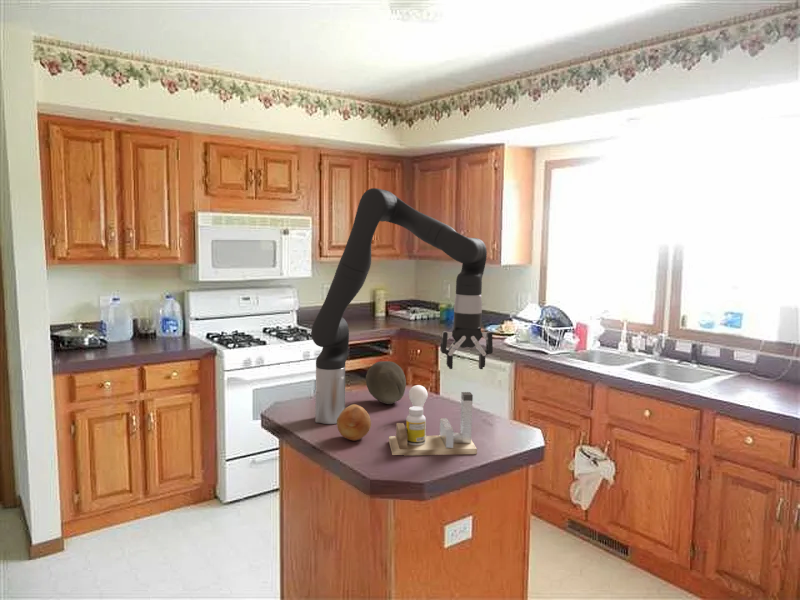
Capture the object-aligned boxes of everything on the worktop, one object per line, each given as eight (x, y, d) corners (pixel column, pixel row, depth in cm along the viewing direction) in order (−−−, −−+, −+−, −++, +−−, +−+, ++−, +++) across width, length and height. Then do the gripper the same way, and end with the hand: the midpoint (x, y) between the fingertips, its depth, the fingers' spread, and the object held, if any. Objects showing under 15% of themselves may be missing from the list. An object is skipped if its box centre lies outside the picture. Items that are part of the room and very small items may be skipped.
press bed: (392, 455, 154) (392, 435, 154) (388, 441, 165) (389, 422, 165) (476, 454, 157) (477, 434, 156) (468, 440, 168) (468, 421, 167)
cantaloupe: (404, 397, 211) (405, 357, 209) (406, 409, 197) (407, 366, 195) (365, 397, 210) (366, 357, 209) (365, 409, 196) (365, 365, 195)
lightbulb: (427, 416, 189) (428, 383, 188) (426, 422, 183) (427, 388, 182) (409, 415, 190) (409, 382, 189) (407, 421, 184) (408, 387, 183)
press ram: (445, 447, 156) (447, 398, 155) (439, 435, 166) (440, 389, 165) (474, 447, 157) (475, 398, 156) (466, 434, 167) (467, 388, 165)
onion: (332, 435, 169) (332, 402, 168) (363, 431, 173) (364, 399, 172) (342, 446, 160) (343, 411, 159) (376, 442, 164) (376, 408, 163)
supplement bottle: (409, 438, 164) (410, 404, 163) (427, 440, 162) (428, 406, 161) (403, 444, 159) (404, 409, 158) (422, 447, 157) (423, 412, 156)
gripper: (444, 312, 154) (442, 371, 156) (496, 312, 156) (494, 371, 158) (440, 308, 162) (438, 365, 164) (489, 309, 163) (487, 365, 165)
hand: (465, 368), depth 161 cm, fingers open, 8 cm apart
